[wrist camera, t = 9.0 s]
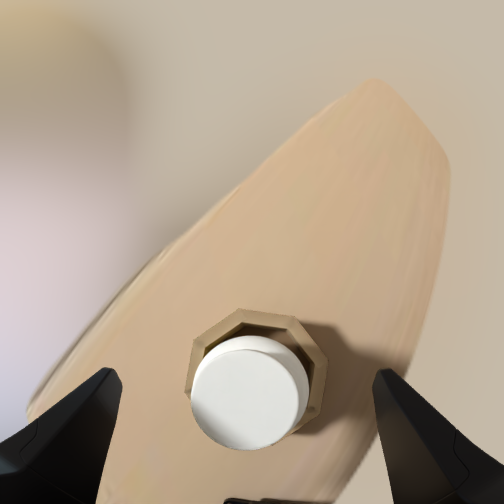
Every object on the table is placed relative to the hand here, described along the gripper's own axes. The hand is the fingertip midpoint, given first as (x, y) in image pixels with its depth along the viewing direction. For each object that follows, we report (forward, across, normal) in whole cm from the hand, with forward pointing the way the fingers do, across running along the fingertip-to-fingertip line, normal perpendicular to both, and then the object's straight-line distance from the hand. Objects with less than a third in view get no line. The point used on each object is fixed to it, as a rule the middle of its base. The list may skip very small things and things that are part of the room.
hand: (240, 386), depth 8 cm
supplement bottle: (+7, 0, +8) cm, 11 cm away
